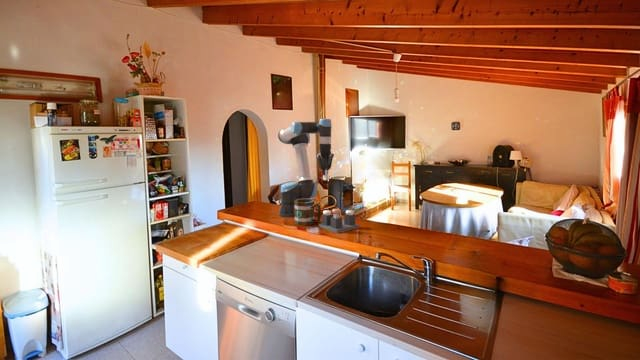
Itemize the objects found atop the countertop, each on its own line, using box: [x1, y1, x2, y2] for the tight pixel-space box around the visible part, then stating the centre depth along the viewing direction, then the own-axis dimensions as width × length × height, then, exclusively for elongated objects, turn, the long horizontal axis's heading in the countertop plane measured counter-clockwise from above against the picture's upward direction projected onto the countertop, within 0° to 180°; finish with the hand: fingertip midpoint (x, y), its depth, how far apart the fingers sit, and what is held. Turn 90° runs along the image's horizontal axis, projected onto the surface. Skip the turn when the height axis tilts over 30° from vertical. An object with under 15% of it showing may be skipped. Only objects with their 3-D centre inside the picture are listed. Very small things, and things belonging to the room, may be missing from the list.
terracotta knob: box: [331, 208, 341, 218], centre depth 210 cm, size 5×5×8 cm
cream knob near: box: [322, 209, 332, 216], centre depth 218 cm, size 5×5×8 cm
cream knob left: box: [345, 209, 355, 216], centre depth 217 cm, size 5×5×8 cm
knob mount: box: [318, 214, 360, 234], centre depth 218 cm, size 18×18×8 cm
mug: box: [294, 198, 321, 227], centre depth 227 cm, size 20×14×15 cm
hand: (325, 179), depth 224 cm, fingers closed
